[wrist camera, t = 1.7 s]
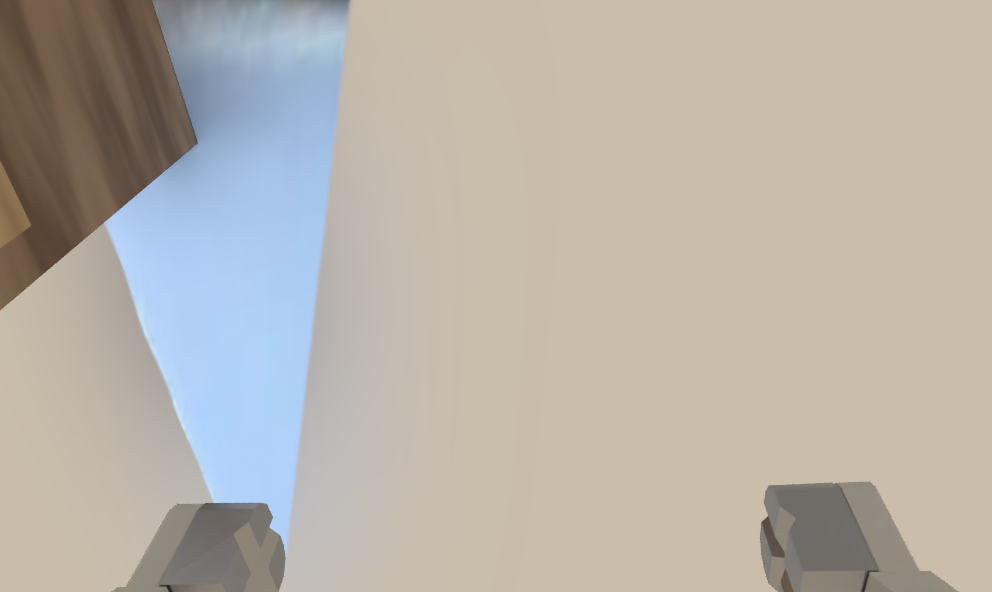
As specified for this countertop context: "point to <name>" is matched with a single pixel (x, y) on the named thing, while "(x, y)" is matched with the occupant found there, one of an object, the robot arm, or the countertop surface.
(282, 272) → the countertop surface
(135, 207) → the countertop surface
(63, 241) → the post
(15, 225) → the t bar
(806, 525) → the robot arm
